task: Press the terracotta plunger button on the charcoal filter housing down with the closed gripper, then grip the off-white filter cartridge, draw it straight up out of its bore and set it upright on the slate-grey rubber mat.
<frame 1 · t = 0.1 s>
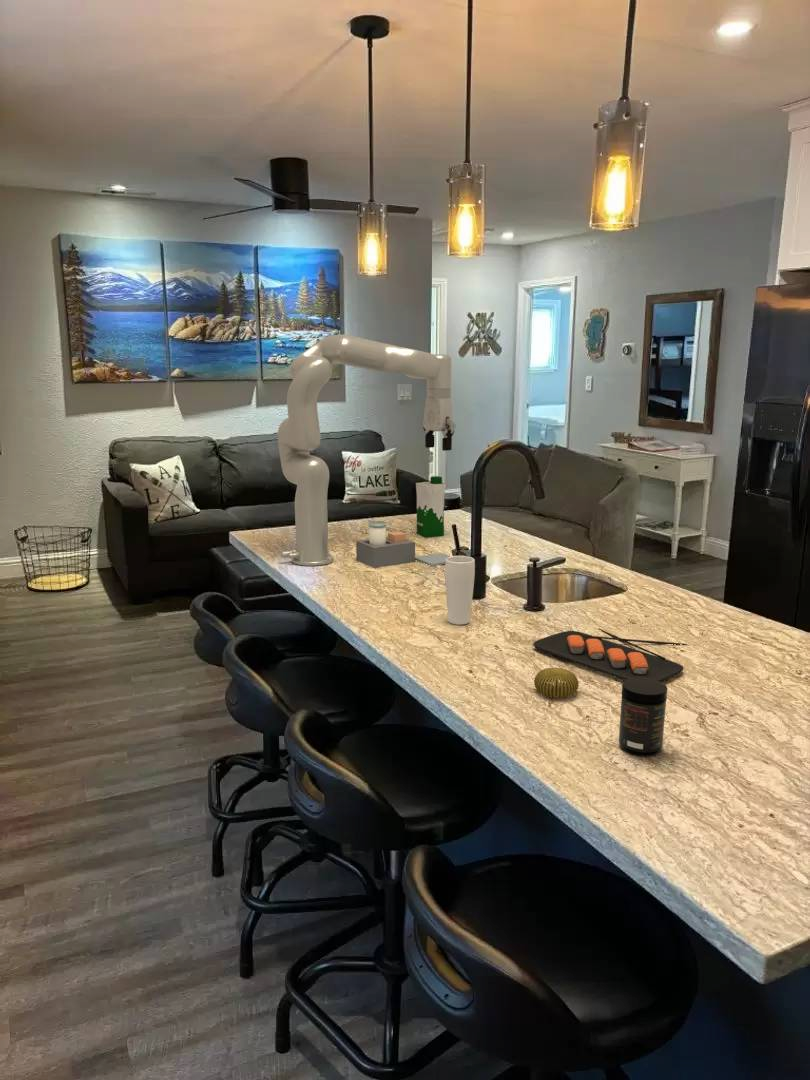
hand: (438, 448, 257), 31 cm above the countertop, fingers open, 9 cm apart
drinking glass: (458, 622, 186), on the countertop
filter housing: (385, 560, 242), on the countertop
milk carton: (430, 535, 277), on the countertop
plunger: (397, 541, 242), point 5 cm above the countertop, slide at 0.0 cm
sculpture: (555, 694, 147), on the countertop
sushi plate: (627, 655, 168), on the countertop
cartridge: (377, 562, 240), resting in filter housing
mat: (436, 560, 242), on the countertop
supplement container: (640, 748, 127), on the countertop
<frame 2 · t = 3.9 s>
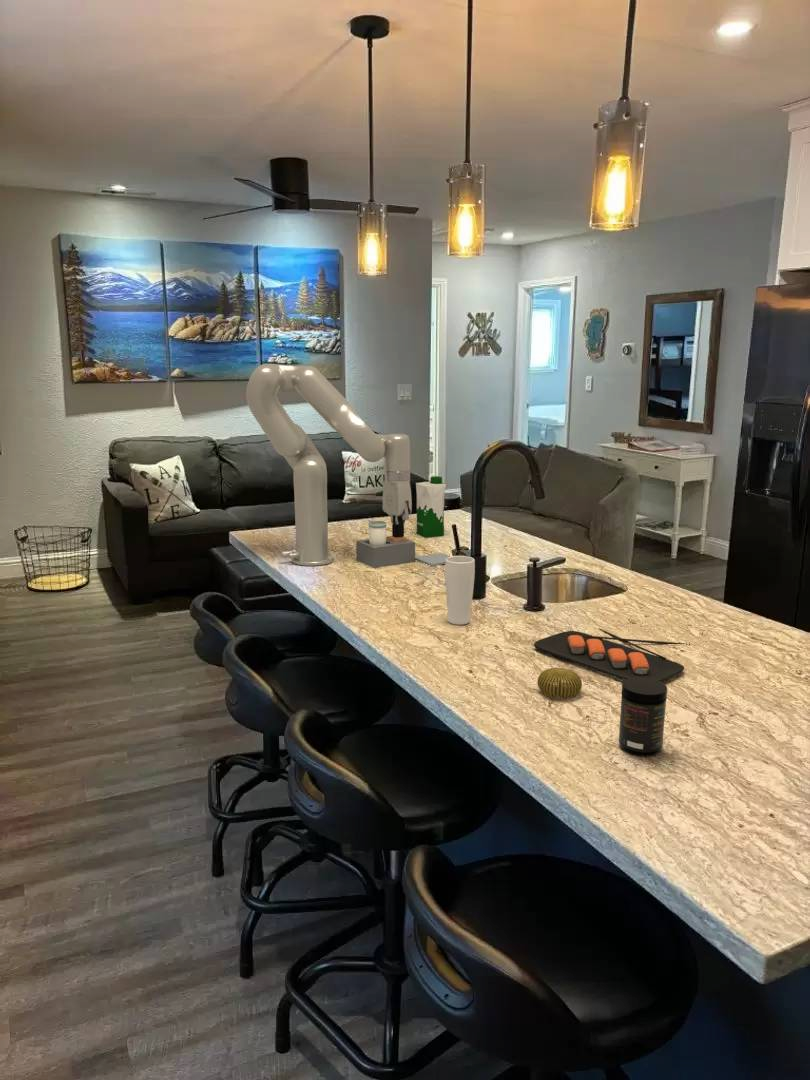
hand: (398, 536, 242), 7 cm above the countertop, fingers closed
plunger: (397, 544, 243), point 4 cm above the countertop, slide at 1.0 cm, touching gripper
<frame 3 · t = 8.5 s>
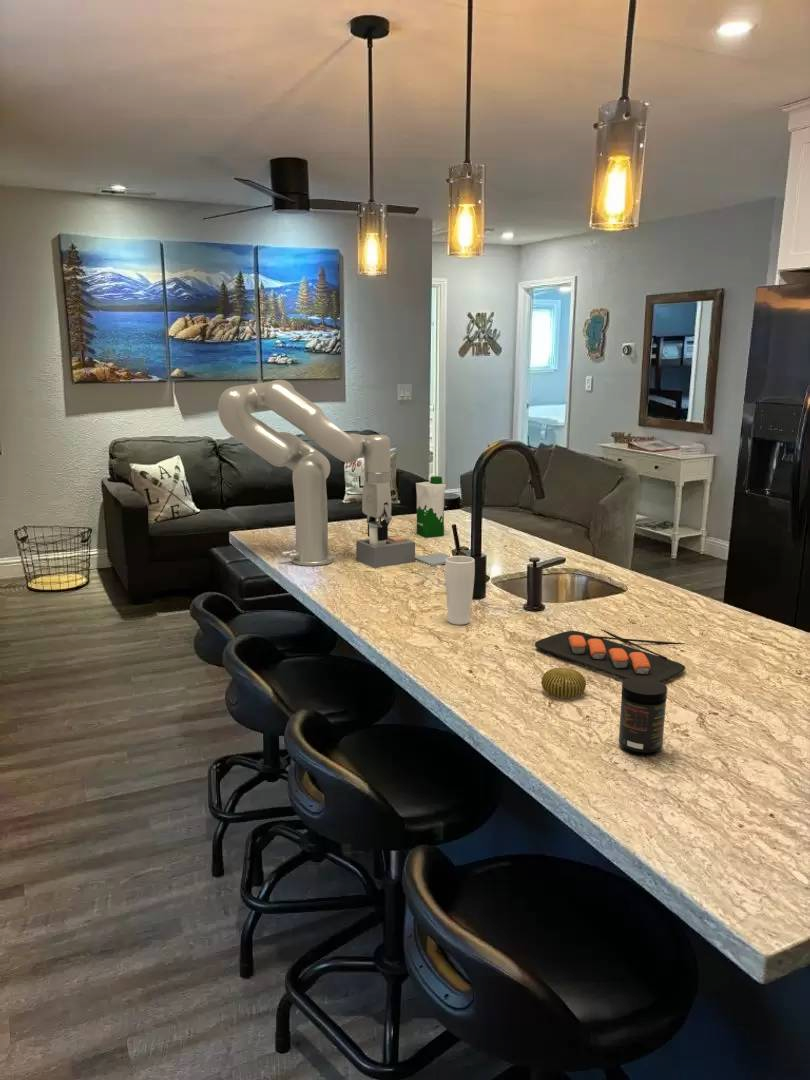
hand: (377, 537, 239), 7 cm above the countertop, fingers closed on cartridge, 5 cm apart
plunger: (397, 546, 243), point 4 cm above the countertop, slide at 1.4 cm
cartridge: (377, 562, 240), resting in filter housing, touching gripper
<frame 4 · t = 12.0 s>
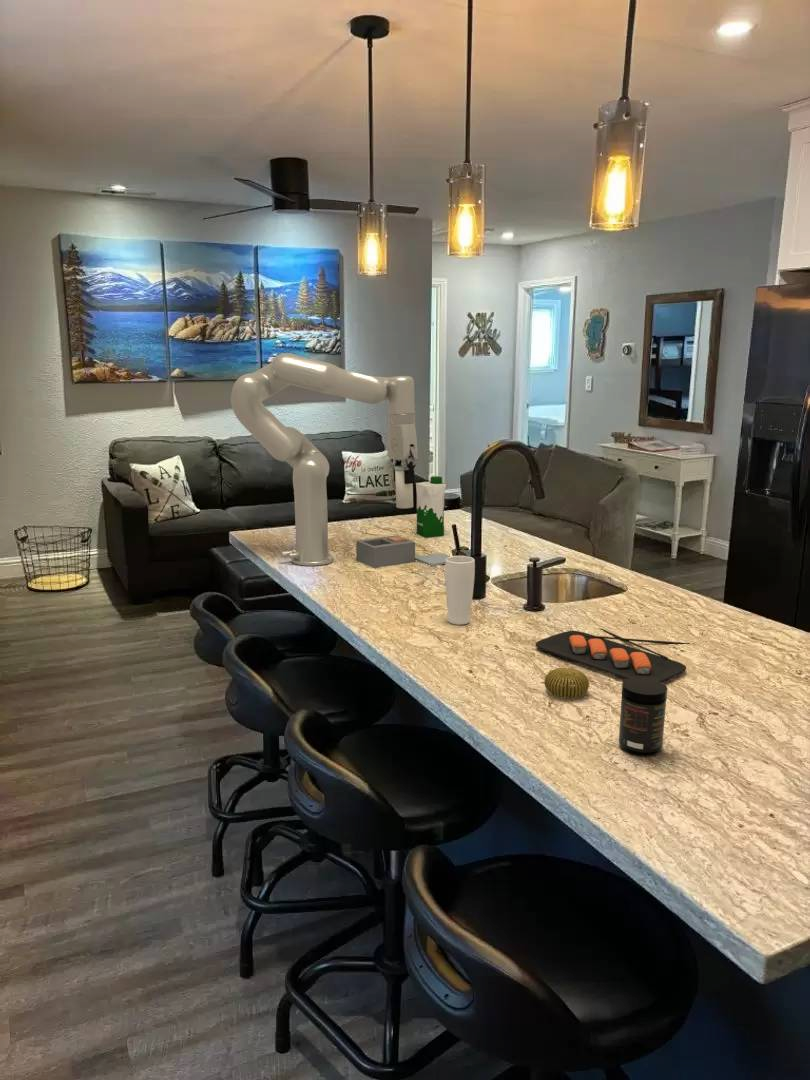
hand: (404, 481, 235), 24 cm above the countertop, fingers closed on cartridge, 5 cm apart
cartridge: (404, 506, 237), point 17 cm above the countertop, touching gripper
when the fingers open (10 cm above the countertop, at t = 15.7 s): cartridge drops 1 cm, resting on mat.
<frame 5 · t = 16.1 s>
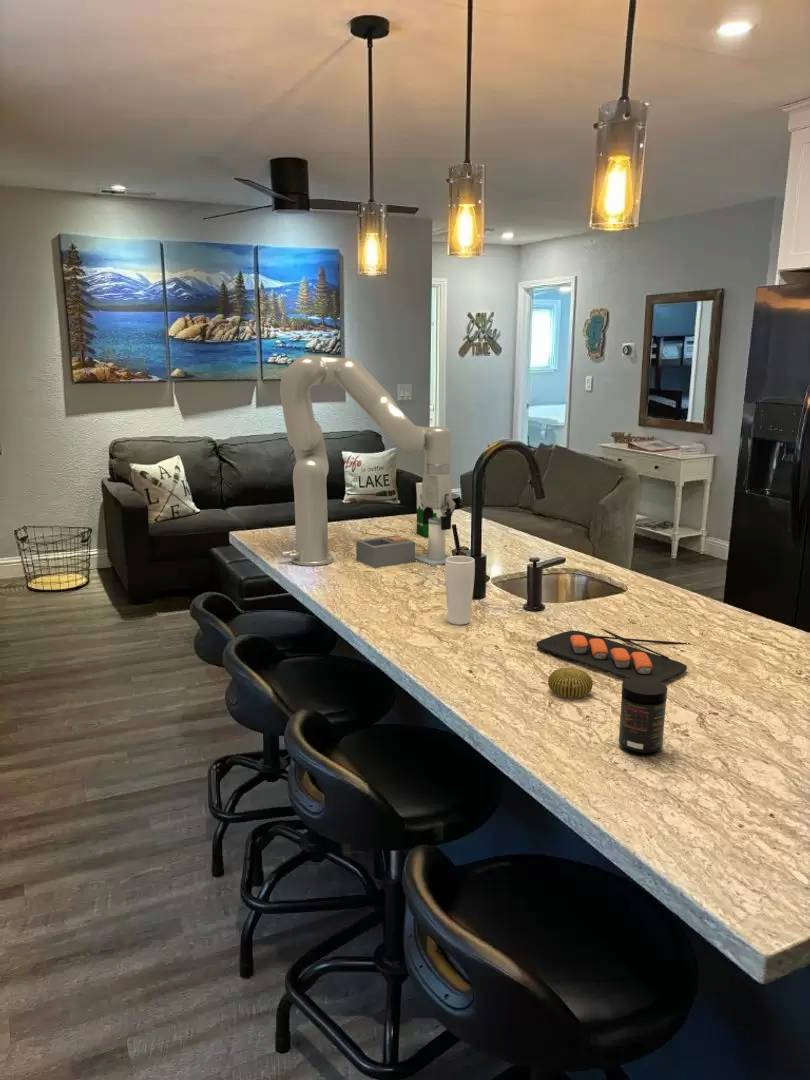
hand: (436, 526, 239), 11 cm above the countertop, fingers open, 9 cm apart
cartridge: (436, 558, 241), point 1 cm above the countertop, touching mat
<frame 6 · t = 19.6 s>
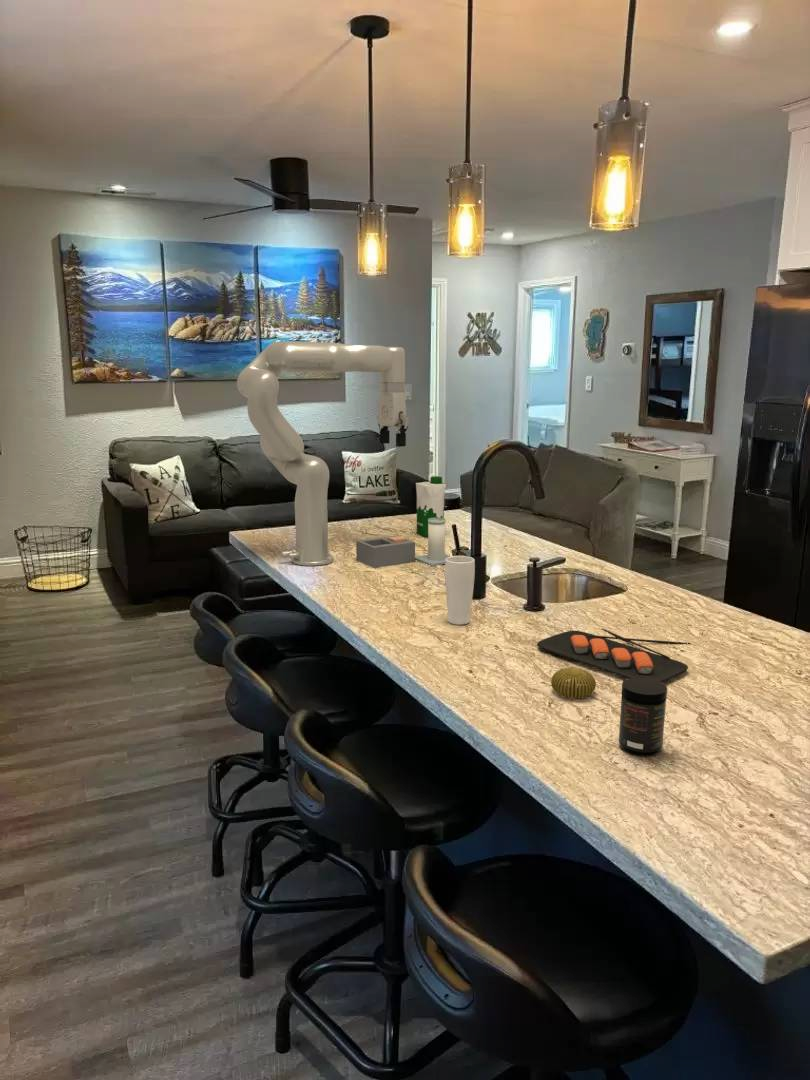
hand: (392, 444, 248), 33 cm above the countertop, fingers open, 9 cm apart
at the end: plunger slide at 1.4 cm; cartridge 0.1 cm off-centre on the mat, point 0.8 cm above the mat's base; cartridge tilted 0° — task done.
